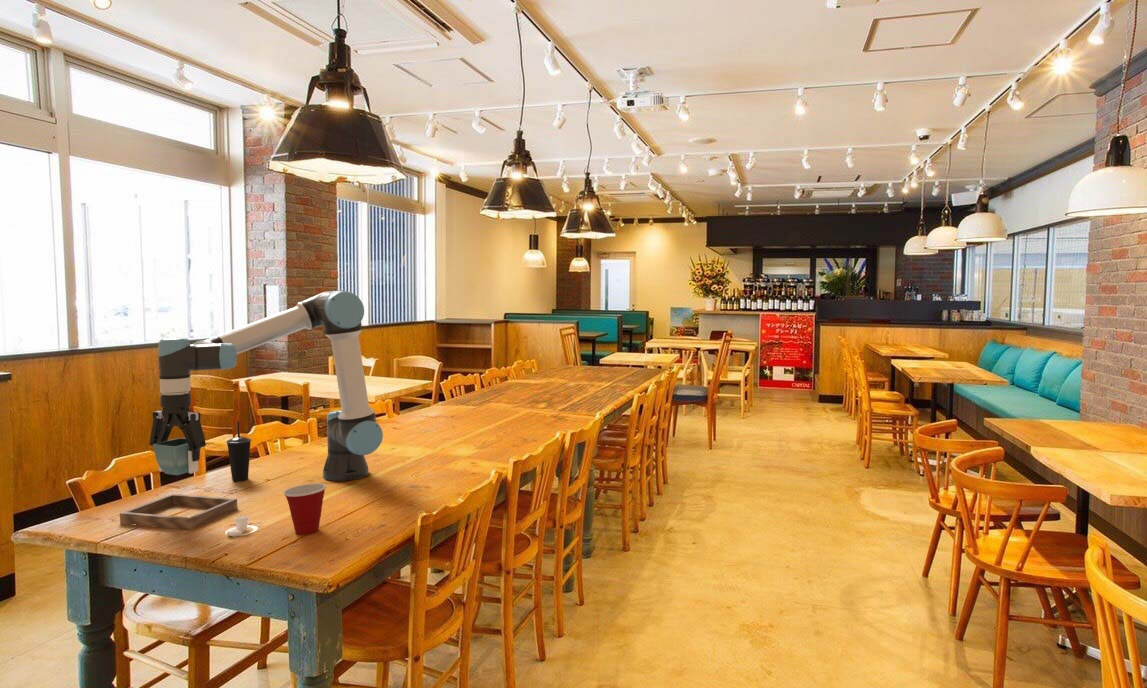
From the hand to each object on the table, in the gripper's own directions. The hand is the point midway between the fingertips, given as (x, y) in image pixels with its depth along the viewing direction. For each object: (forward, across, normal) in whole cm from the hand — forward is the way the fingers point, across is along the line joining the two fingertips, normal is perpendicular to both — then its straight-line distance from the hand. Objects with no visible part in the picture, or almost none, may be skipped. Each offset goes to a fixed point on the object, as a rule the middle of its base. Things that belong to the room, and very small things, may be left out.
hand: (178, 471), depth 192 cm
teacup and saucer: (+14, -23, +8) cm, 28 cm away
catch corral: (+13, 0, 0) cm, 13 cm away
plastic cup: (+13, -42, +3) cm, 44 cm away
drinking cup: (+13, +9, -36) cm, 39 cm away
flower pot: (+1, 0, 0) cm, 1 cm away
